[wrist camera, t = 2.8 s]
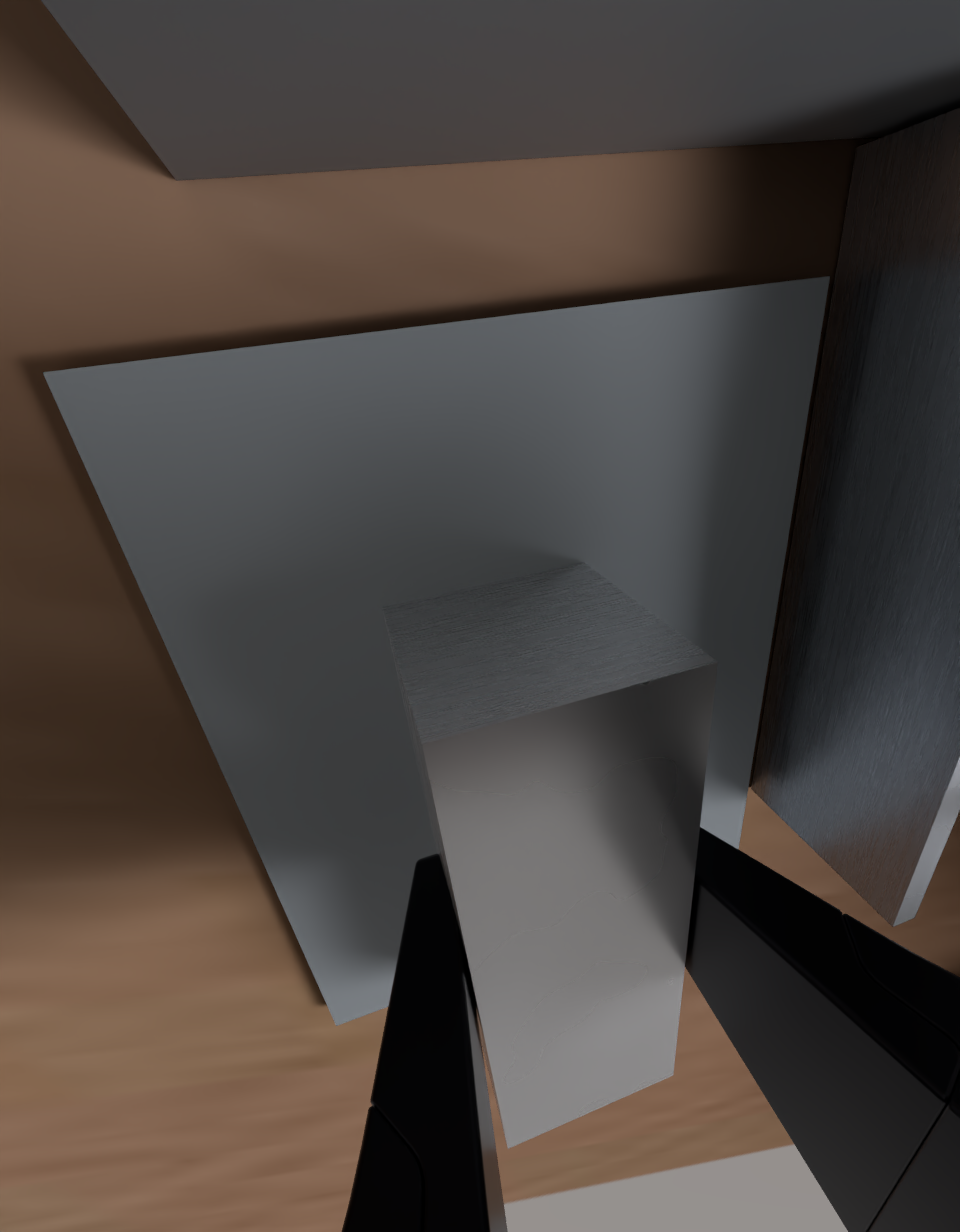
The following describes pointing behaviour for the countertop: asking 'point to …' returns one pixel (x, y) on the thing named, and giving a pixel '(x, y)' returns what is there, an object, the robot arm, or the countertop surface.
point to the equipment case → (507, 76)
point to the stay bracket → (879, 543)
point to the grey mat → (440, 545)
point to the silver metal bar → (561, 824)
